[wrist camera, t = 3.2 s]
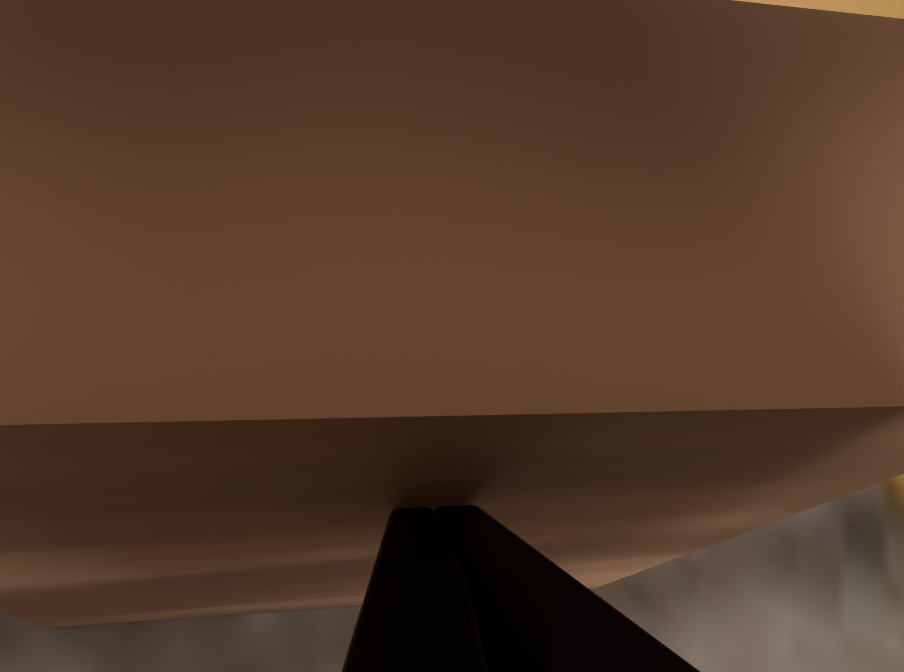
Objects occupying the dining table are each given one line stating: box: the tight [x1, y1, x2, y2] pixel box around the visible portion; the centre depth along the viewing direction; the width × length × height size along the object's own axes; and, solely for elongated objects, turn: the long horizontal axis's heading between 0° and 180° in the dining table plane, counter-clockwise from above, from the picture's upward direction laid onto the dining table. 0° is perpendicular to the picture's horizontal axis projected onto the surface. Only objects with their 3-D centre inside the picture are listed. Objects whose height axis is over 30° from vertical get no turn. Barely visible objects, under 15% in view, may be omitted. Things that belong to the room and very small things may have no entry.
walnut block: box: [0, 0, 904, 629], centre depth 11 cm, size 4×10×11 cm, turn 95°
